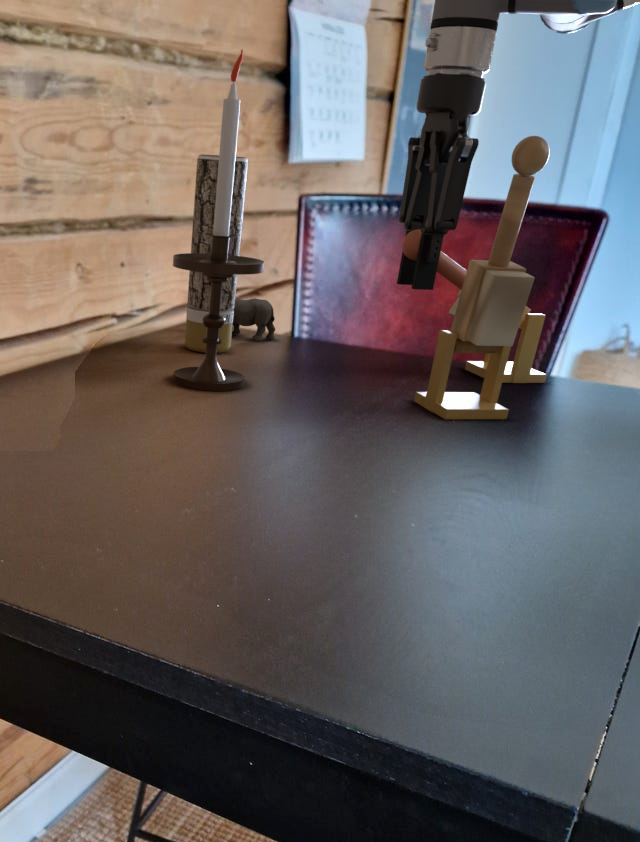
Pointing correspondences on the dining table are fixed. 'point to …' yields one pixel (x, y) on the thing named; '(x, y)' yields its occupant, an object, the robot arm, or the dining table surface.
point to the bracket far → (519, 355)
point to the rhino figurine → (254, 317)
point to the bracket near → (464, 402)
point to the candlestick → (218, 258)
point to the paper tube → (202, 244)
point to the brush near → (500, 267)
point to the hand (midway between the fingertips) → (414, 286)
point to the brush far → (443, 267)
